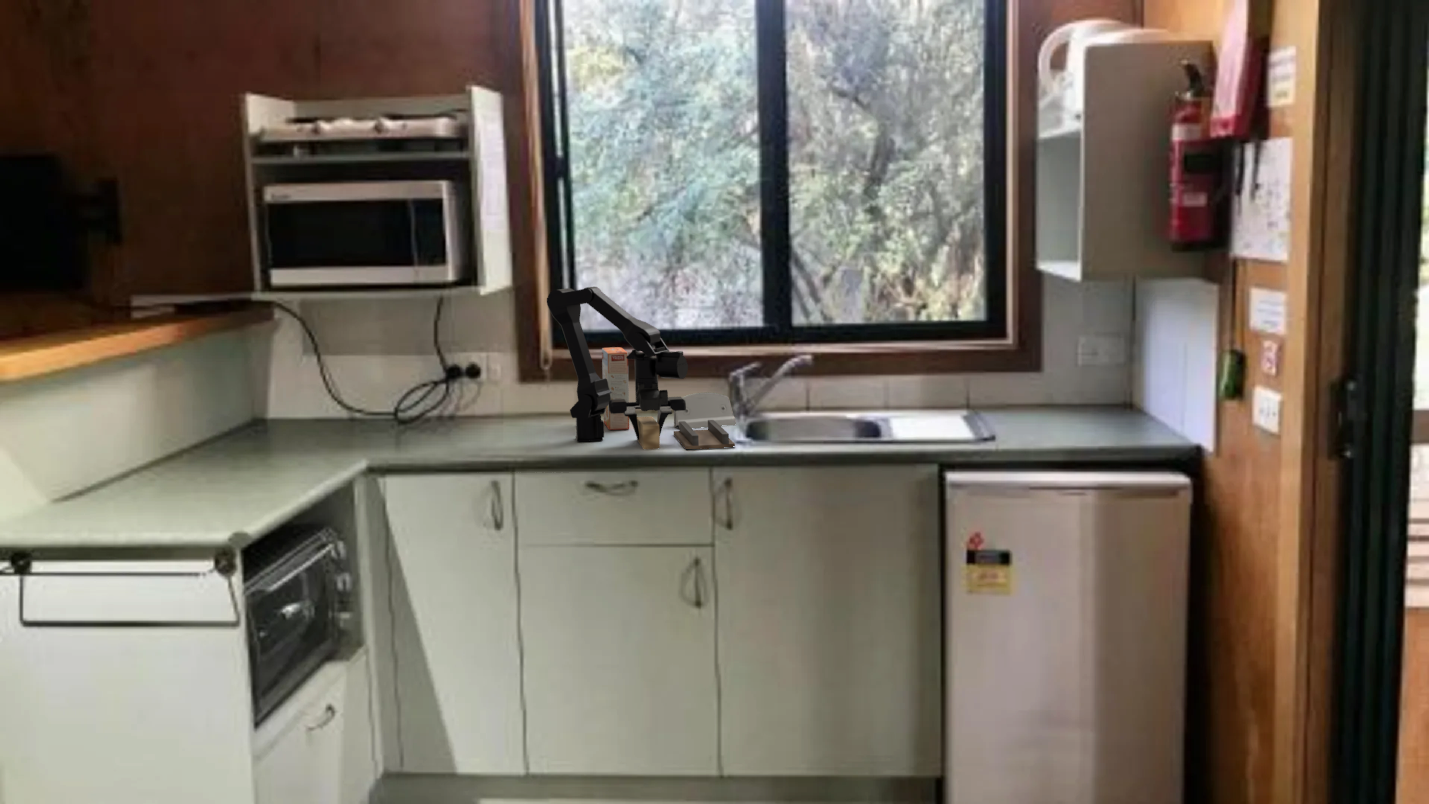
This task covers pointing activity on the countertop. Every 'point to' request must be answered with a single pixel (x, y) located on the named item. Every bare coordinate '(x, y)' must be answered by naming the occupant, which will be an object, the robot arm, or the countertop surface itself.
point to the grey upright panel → (705, 410)
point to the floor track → (703, 436)
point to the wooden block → (648, 433)
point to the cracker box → (616, 384)
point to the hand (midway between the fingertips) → (648, 439)
